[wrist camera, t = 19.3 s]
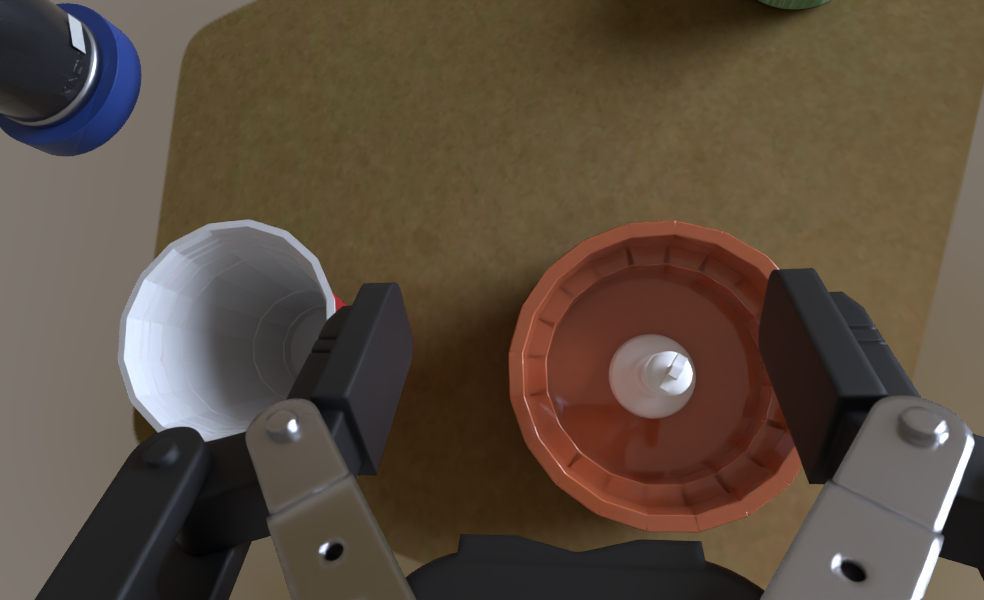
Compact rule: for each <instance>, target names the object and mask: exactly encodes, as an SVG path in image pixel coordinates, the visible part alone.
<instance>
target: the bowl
mask: <svg viewBox="0 0 984 600" xmlns="http://www.w3.org/2000/svg"><path fill="white" fill-rule="evenodd" d="M778 269H779V268H778V267H777V266H776V265H775V264H774V263H773V262H772V261H771V260H770V258H769V257H767V256H766V255H764V254H763V253H761V252H759V251H757V250H756V249H754V248H752V247H750V246H749V245H747V244H745V243H743V242H742V241H740V240H738V239H736V238H735V237H733V236H731V235H730V234H728V233H726V232H723V231H720V230H715V229H711V228H707V227H702V226H698V225H694V224H689V223H685V222H681V221H675V220H670V221H656V222H641V223H628V224H625V225H622V226H619V227H617V228H614V229H612V230H609V231H606V232H604V233H601V234H599V235H596V236H593V237H591V238H588V239H586V240H584V241H582V242H580V243H579V244H578V245H577V246H575V247H574V248H573V249H572V250H570V251H569V252H568V253H566V254H565V255H564V256H563V257H561V258H560V259H559V260H558V261H556V262H555V263H554V264H553V265H551V266H550V267H549V268H548V269H547V270H546V271H545V272H544V274H543V275H542V277H541V278H540V280H539V281H538V283H537V284H536V286H535V287H534V289H533V290H532V292H531V293H530V295H529V296H528V298H527V299H526V301H525V302H524V304H523V305H522V307H521V309H520V313H519V316H518V320H517V323H516V327H515V330H514V334H513V337H512V341H511V344H510V348H509V353H508V363H509V396H510V402H511V404H512V407H513V410H514V413H515V416H516V419H517V422H518V424H519V427H520V430H521V433H522V436H523V439H524V442H525V444H527V447H528V449H529V450H530V451H531V453H532V454H533V455H534V457H535V458H536V459H537V461H538V462H539V463H540V465H541V466H542V468H543V469H544V470H545V472H546V473H547V474H548V476H549V477H550V478H551V480H552V481H553V482H554V483H555V484H556V485H557V486H558V487H559V488H560V489H562V490H563V491H564V492H566V493H567V494H569V495H570V496H571V497H573V498H574V499H575V500H577V501H578V502H580V503H581V504H582V505H584V506H585V507H586V508H588V509H589V510H591V511H592V512H593V513H595V514H597V515H598V516H601V517H604V518H607V519H610V520H613V521H616V522H619V523H622V524H625V525H628V526H631V527H634V528H637V529H640V530H643V531H647V532H702V531H705V530H708V529H711V528H714V527H717V526H720V525H723V524H727V523H730V522H733V521H736V520H739V519H742V518H745V517H748V516H749V515H751V514H752V513H754V512H755V511H756V510H758V509H759V508H760V507H761V506H763V505H764V504H765V503H767V502H768V501H769V500H771V499H772V498H773V497H775V496H776V495H777V494H779V493H780V492H781V491H783V490H784V489H785V488H787V487H788V486H789V484H791V483H792V481H793V480H794V478H795V476H796V475H797V473H798V472H799V470H800V469H801V467H802V463H801V460H800V458H799V455H798V452H797V450H796V447H795V444H794V442H793V439H792V436H791V434H790V431H789V429H788V426H787V423H786V421H785V418H784V415H783V413H782V410H781V407H780V405H779V402H778V400H777V397H776V394H775V392H774V389H773V386H772V384H771V381H770V378H769V376H768V373H767V371H766V368H765V365H764V363H763V360H762V357H761V354H760V350H759V342H758V330H759V324H760V319H761V314H762V309H763V304H764V299H765V294H766V289H767V284H768V279H769V276H770V273H771V272H772V270H778ZM643 334H658V335H663V336H666V337H668V338H671V339H672V340H674V341H676V342H677V343H679V344H680V345H681V346H682V347H683V348H684V349H685V350H686V351H687V353H688V354H689V356H690V357H691V359H692V361H693V364H694V367H695V372H696V383H695V388H694V391H693V394H692V396H691V398H690V399H689V401H688V402H687V404H686V405H685V406H684V407H683V408H682V409H680V410H679V411H678V412H676V413H674V414H673V415H670V416H668V417H664V418H658V419H649V418H643V417H640V416H637V415H635V414H633V413H631V412H629V411H628V410H626V409H625V408H624V407H623V406H622V405H621V404H620V403H619V402H618V401H617V399H616V398H615V396H614V394H613V392H612V390H611V387H610V383H609V367H610V363H611V360H612V358H613V356H614V354H615V352H616V351H617V350H618V348H619V347H620V346H621V345H622V344H623V343H625V342H626V341H628V340H629V339H631V338H633V337H636V336H639V335H643Z"/></svg>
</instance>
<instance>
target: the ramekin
mask: <svg viewBox="0 0 984 600" xmlns="http://www.w3.org/2000/svg"><path fill="white" fill-rule="evenodd" d="M758 1H760V2H762V3H764V4H767V5H769V6H772V7H777V8H781V9H805V8H812V7H816V6H819V5H822V4H824V3H826V2H828V1H830V0H758Z"/></svg>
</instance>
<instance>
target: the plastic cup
mask: <svg viewBox="0 0 984 600" xmlns="http://www.w3.org/2000/svg"><path fill="white" fill-rule="evenodd" d="M342 306H347V305H346V304H345V303H344V302H343V301H342V300H340V299H339V298H338V297H337V296H336V295H335V294H334V293H333V292H332V291H331V289H330V286H329V284H328V282H327V279H326V277H325V275H324V272H323V270H322V268H321V265H320V263H319V261H318V258H317V257H316V256H314V255H313V254H312V253H311V252H310V251H309V250H308V249H307V248H306V247H304V246H303V245H302V244H301V243H300V242H299V241H298V240H297V239H296V238H294V237H293V236H292V235H291V234H290V233H289V232H288V231H285V230H282V229H279V228H275V227H272V226H269V225H266V224H262V223H259V222H256V221H253V220H239V221H230V222H221V223H212V224H207V225H205V226H203V227H201V228H199V229H197V230H195V231H193V232H191V233H190V234H188V235H186V236H184V237H182V238H180V239H178V240H176V241H174V242H172V243H170V244H169V245H168V246H167V247H166V248H165V249H164V250H163V251H162V252H161V254H160V255H159V256H158V257H157V258H156V259H155V260H154V261H153V262H152V263H151V264H150V265H149V266H148V267H147V268H146V269H145V271H144V272H143V273H142V274H141V275H140V276H139V278H138V280H137V282H136V284H135V287H134V289H133V291H132V293H131V295H130V298H129V300H128V302H127V304H126V307H125V309H124V311H123V313H122V316H121V321H120V334H119V348H118V359H117V362H118V364H119V368H120V371H121V374H122V378H123V380H124V384H125V387H126V390H127V393H128V396H129V400H130V402H131V403H132V404H133V406H134V407H135V408H136V409H137V410H138V411H139V412H140V413H141V414H142V416H143V417H144V418H145V419H146V420H147V421H148V422H149V423H150V424H151V426H152V427H153V428H154V429H155V430H156V431H157V432H160V431H163V430H166V429H169V428H173V427H180V426H184V427H191V428H193V429H196V430H197V431H198V432H199V433H200V435H201V436H202V438H203V439H204V441H205V442H208V441H212V440H215V439H219V438H223V437H227V436H231V435H235V434H238V433H242V432H245V431H247V429H248V427H249V425H250V423H251V422H252V420H253V419H254V418H255V417H256V416H257V415H258V414H259V413H260V412H262V411H263V410H264V409H266V408H267V407H269V406H271V405H273V404H275V403H277V402H280V401H283V400H286V398H287V396H288V394H289V392H290V390H291V388H292V386H293V385H294V383H295V381H296V379H297V377H298V375H299V373H300V371H301V369H302V367H303V365H304V363H305V361H306V359H307V357H308V355H309V353H311V350H312V348H313V346H314V344H315V342H316V340H318V336H319V334H320V332H321V330H322V328H323V326H324V324H325V322H326V320H328V319H329V318H330V317H331V316H332V315H333V314H334V313H335V312H336V311H337V310H338V309H340V308H341V307H342Z"/></svg>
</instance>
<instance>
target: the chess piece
mask: <svg viewBox="0 0 984 600" xmlns="http://www.w3.org/2000/svg"><path fill="white" fill-rule="evenodd" d="M609 383H610V387H611V390H612V392H613V394H614V396H615V398H616V399H617V401H618V402H619V403H620V404H621V405H622V406H623V407H624V408H625V409H626V410H628V411H629V412H631V413H633V414H635V415H637V416H640V417H643V418H649V419H658V418H664V417H668V416H670V415H673V414H674V413H676V412H678V411H679V410H680V409H682V408H683V407H684V406H685V405H686V404H687V402H688V401H689V399H690V398H691V396H692V394H693V391H694V388H695V383H696V372H695V367H694V364H693V361H692V359H691V357H690V356H689V354H688V353H687V351H686V350H685V349H684V348H683V347H682V346H681V345H680V344H679V343H677V342H676V341H674V340H672V339H671V338H668V337H666V336H663V335H658V334H643V335H639V336H636V337H633V338H631V339H629V340H628V341H626V342H625V343H623V344H622V345H621V346H620V347H619V348H618V350H617V351H616V352H615V354H614V356H613V358H612V360H611V363H610V367H609Z"/></svg>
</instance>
